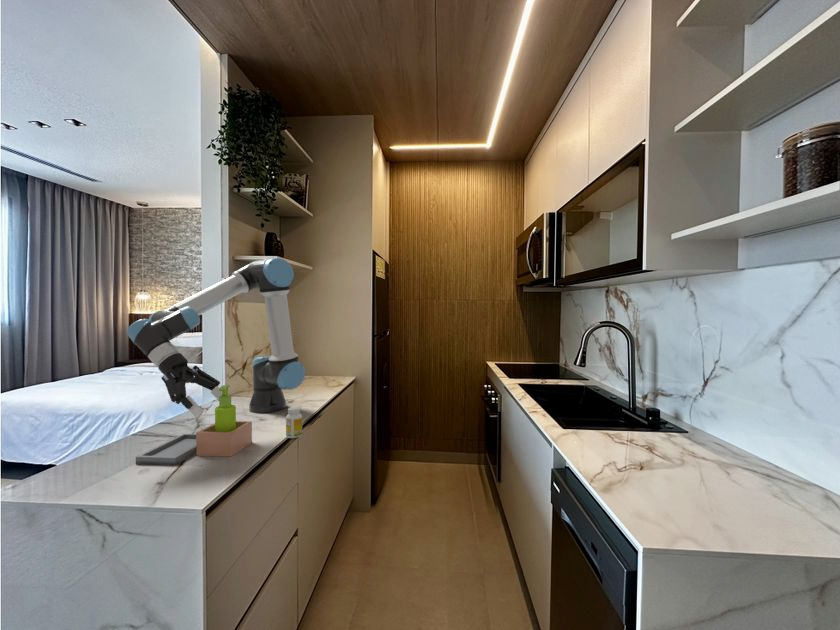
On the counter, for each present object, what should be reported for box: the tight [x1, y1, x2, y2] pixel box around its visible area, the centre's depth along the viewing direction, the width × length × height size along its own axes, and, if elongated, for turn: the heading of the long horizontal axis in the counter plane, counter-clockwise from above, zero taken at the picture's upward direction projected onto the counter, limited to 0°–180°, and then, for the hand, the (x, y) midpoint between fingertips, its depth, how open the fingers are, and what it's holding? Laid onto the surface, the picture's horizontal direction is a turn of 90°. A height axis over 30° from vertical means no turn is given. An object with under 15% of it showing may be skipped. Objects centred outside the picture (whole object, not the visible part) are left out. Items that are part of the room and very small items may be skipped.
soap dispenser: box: [214, 384, 237, 432], centre depth 121 cm, size 6×7×20 cm
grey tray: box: [135, 433, 197, 466], centre depth 119 cm, size 20×12×2 cm, turn 176°
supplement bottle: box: [285, 406, 303, 439], centre depth 133 cm, size 5×5×10 cm
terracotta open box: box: [195, 420, 253, 457], centre depth 121 cm, size 12×11×7 cm
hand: (214, 408), depth 120 cm, fingers open, 13 cm apart
